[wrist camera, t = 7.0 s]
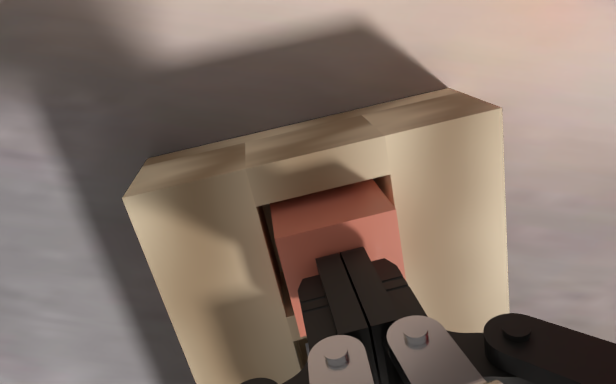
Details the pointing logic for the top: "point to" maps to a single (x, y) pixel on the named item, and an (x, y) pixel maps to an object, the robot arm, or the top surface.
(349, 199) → the red key
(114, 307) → the top surface
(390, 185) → the tray
